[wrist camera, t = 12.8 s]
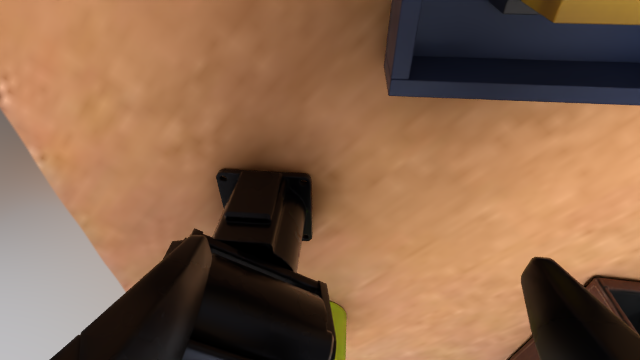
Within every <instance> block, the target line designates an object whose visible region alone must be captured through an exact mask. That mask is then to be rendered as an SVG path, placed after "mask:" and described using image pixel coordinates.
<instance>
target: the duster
mask: <svg viewBox="0 0 640 360" xmlns="http://www.w3.org/2000/svg"><path fill="white" fill-rule="evenodd" d="M489 2H490V3H491V4H492V5H493V6H494V7H495V8H497V9H498V10H499V11H500V12H501V13H503V14H515V15H542V16H544V17H545V18H547V19H548V20H550V21H551V22H553V23H569V24H612V25H640V0H489Z"/></svg>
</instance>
